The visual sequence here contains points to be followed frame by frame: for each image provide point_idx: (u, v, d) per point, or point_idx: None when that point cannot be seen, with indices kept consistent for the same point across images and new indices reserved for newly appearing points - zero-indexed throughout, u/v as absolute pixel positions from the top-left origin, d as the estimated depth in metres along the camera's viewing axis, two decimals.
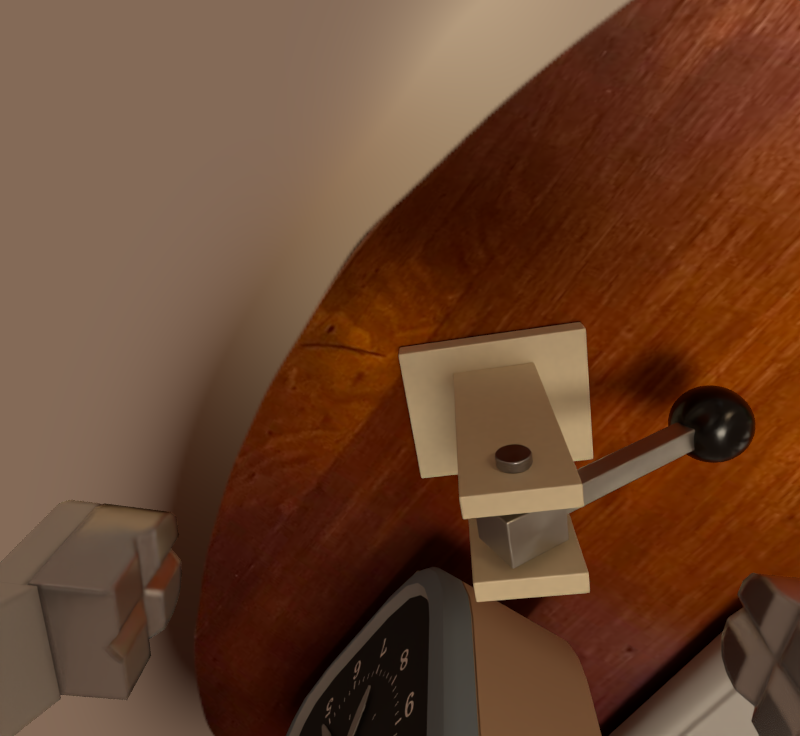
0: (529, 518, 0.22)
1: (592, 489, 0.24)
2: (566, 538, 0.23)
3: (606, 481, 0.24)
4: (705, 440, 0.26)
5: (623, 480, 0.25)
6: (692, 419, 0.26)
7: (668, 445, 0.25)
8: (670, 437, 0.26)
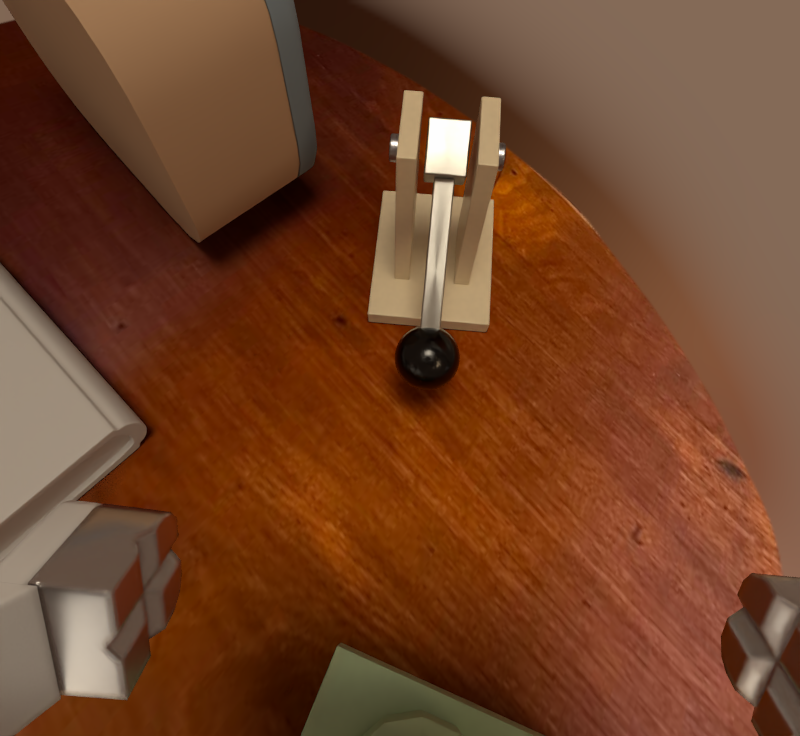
0: (464, 140, 0.29)
1: (442, 215, 0.31)
2: (427, 170, 0.30)
3: (442, 230, 0.31)
4: (432, 332, 0.31)
5: (432, 248, 0.31)
6: (446, 332, 0.32)
7: (440, 299, 0.31)
8: None
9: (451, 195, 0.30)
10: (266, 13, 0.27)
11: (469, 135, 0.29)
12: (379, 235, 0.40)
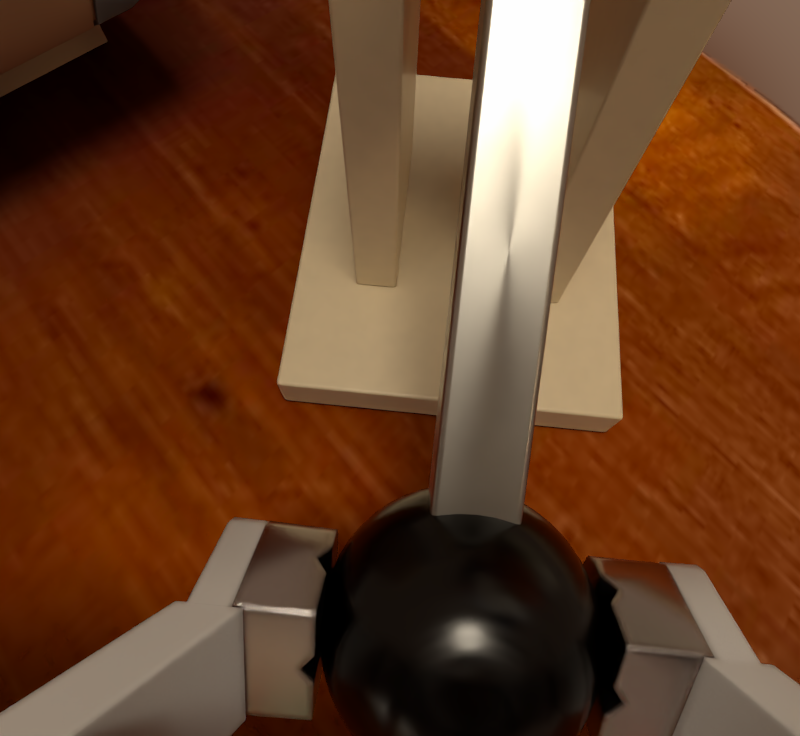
0: None
1: None
2: None
3: (545, 48, 0.06)
4: (488, 548, 0.06)
5: (497, 138, 0.06)
6: (547, 530, 0.07)
7: (525, 387, 0.07)
8: (532, 416, 0.07)
9: None
10: None
11: None
12: (321, 171, 0.16)
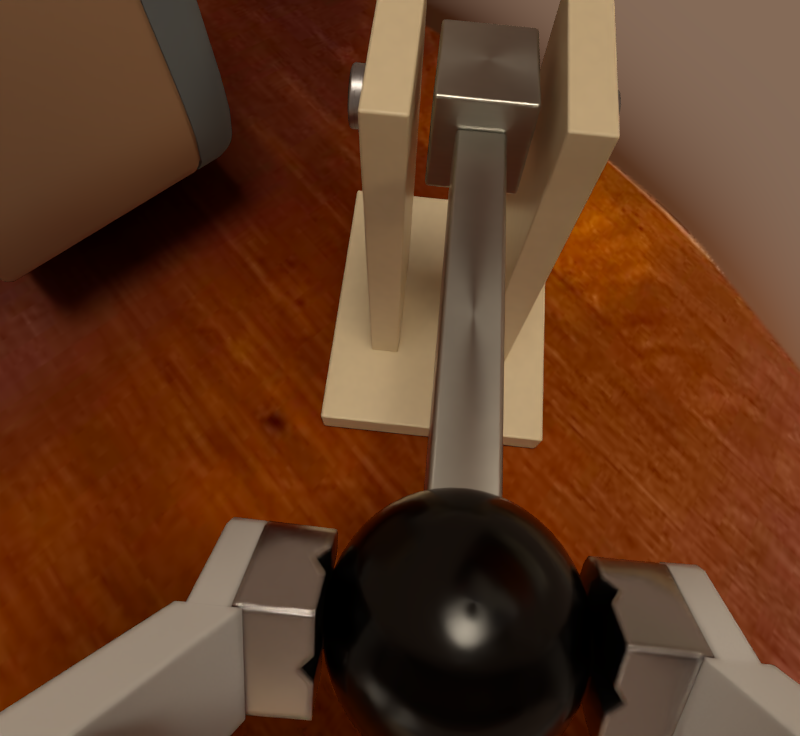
0: (528, 52, 0.13)
1: (483, 194, 0.11)
2: (442, 90, 0.12)
3: (484, 224, 0.11)
4: (477, 493, 0.08)
5: (461, 260, 0.10)
6: None
7: (493, 395, 0.09)
8: (501, 423, 0.09)
9: (502, 160, 0.12)
10: None
11: (537, 46, 0.13)
12: (347, 269, 0.23)
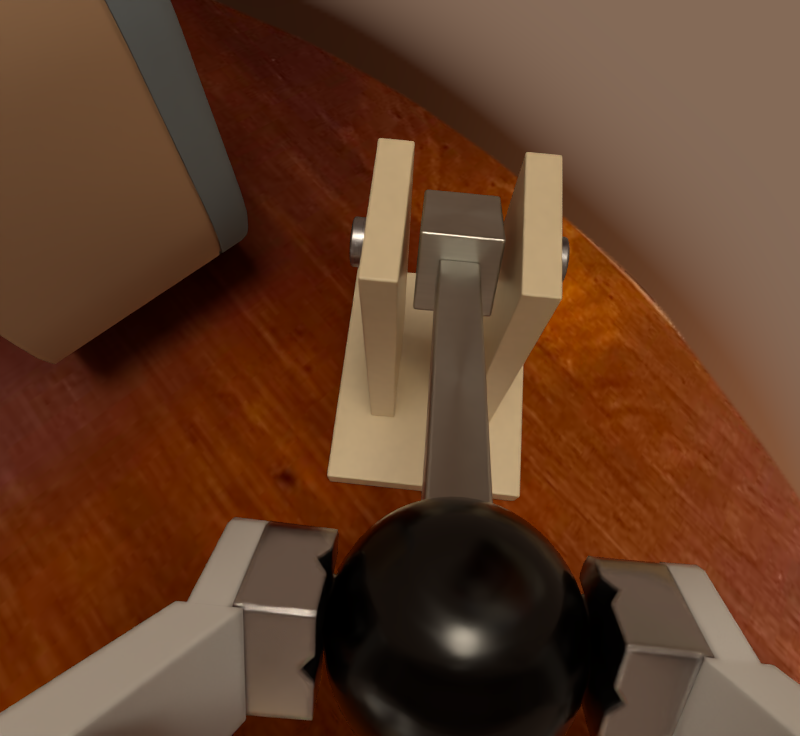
0: (493, 209, 0.16)
1: (463, 300, 0.14)
2: (427, 229, 0.15)
3: (465, 318, 0.13)
4: None
5: (447, 342, 0.12)
6: None
7: (480, 436, 0.10)
8: (488, 461, 0.10)
9: (477, 279, 0.14)
10: None
11: (499, 206, 0.16)
12: (349, 341, 0.26)
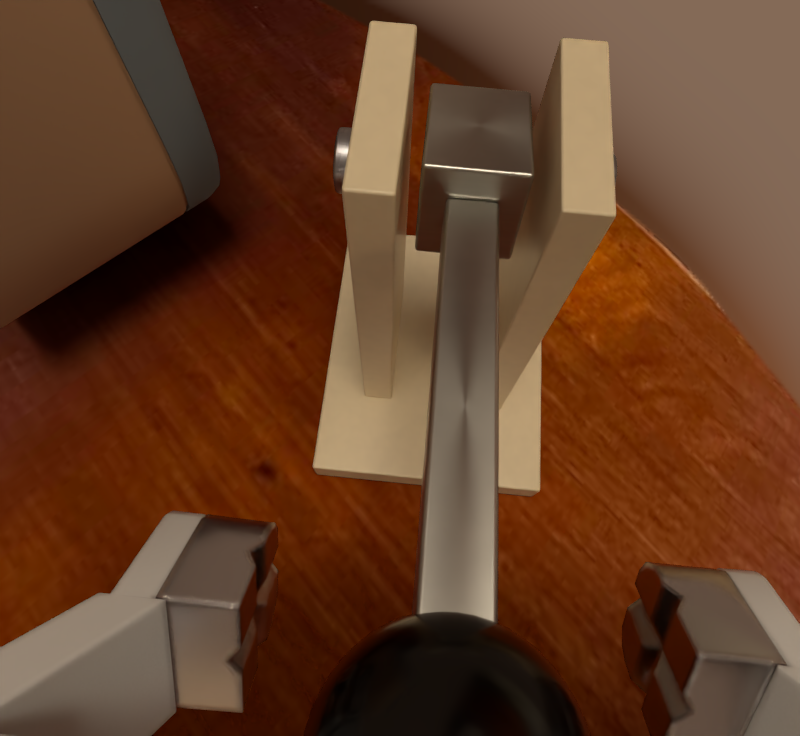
0: (520, 117, 0.12)
1: (475, 269, 0.11)
2: (431, 160, 0.11)
3: (476, 302, 0.10)
4: (469, 625, 0.07)
5: (452, 344, 0.10)
6: None
7: (487, 500, 0.08)
8: (496, 531, 0.08)
9: (494, 231, 0.11)
10: None
11: (529, 111, 0.12)
12: (340, 312, 0.23)
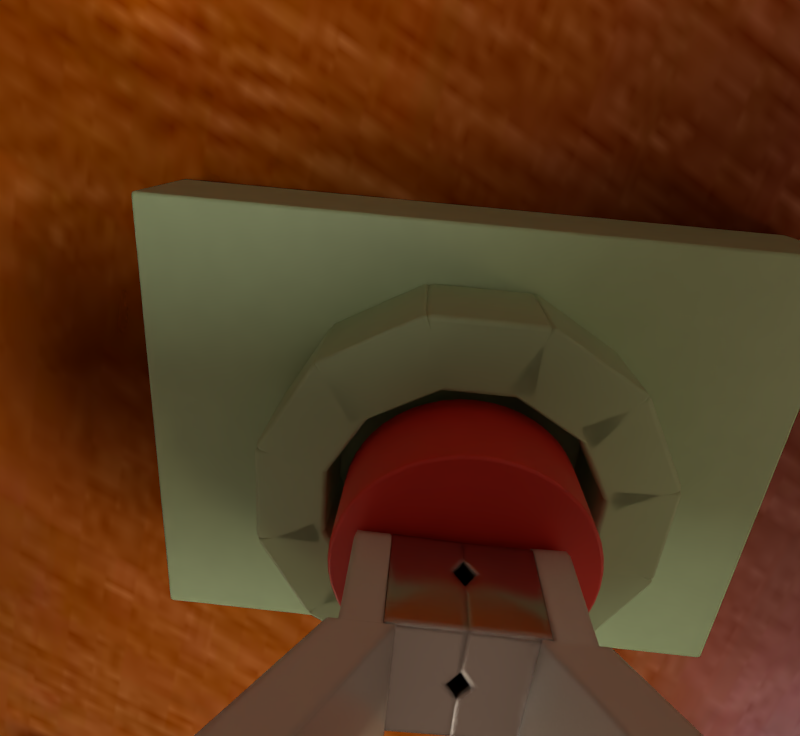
0: None
1: None
2: None
3: None
4: None
5: None
6: None
7: None
8: None
9: None
10: None
11: None
12: None
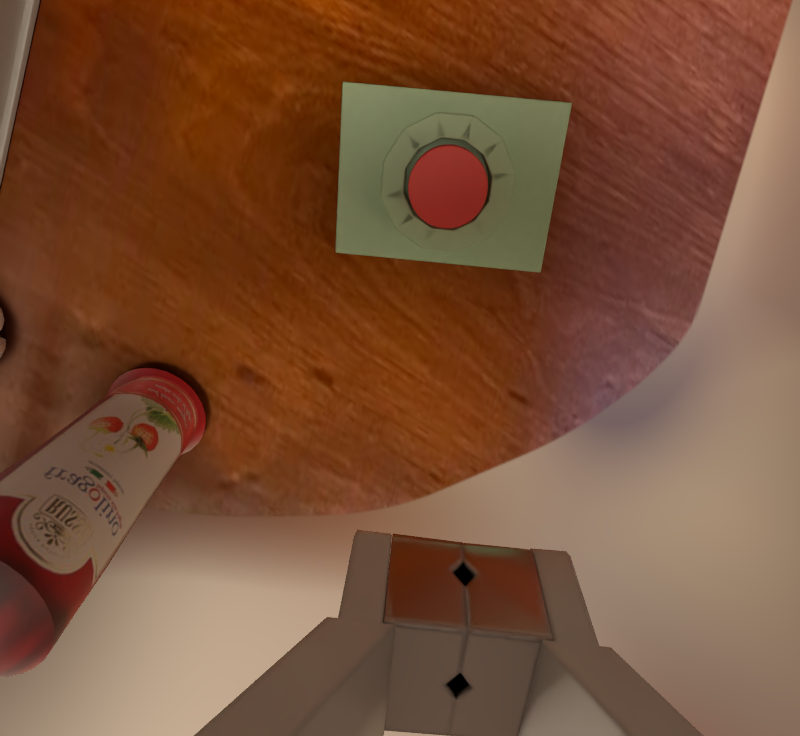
0: None
1: None
2: None
3: None
4: None
5: None
6: None
7: None
8: None
9: None
10: None
11: None
12: None
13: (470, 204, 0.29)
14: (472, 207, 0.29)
